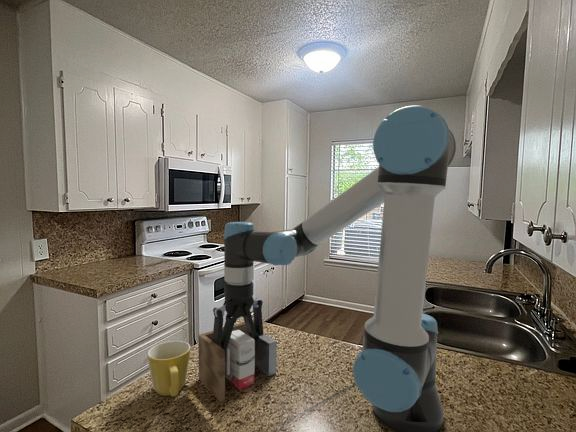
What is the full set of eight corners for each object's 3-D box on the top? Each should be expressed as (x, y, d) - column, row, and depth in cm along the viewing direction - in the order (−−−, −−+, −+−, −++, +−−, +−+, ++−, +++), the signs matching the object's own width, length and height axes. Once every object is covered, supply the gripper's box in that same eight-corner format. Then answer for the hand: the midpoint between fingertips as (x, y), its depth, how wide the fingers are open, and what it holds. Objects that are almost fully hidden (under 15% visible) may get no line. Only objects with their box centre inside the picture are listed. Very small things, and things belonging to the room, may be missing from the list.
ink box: (255, 383, 82) (255, 338, 81) (238, 390, 79) (238, 344, 78) (238, 369, 89) (239, 328, 88) (222, 375, 86) (222, 332, 85)
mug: (150, 381, 84) (150, 342, 84) (190, 375, 87) (190, 338, 87) (142, 414, 71) (142, 369, 71) (190, 406, 74) (190, 363, 74)
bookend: (276, 373, 87) (276, 341, 86) (268, 376, 85) (269, 343, 85) (259, 361, 93) (259, 331, 92) (252, 364, 91) (252, 333, 91)
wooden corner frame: (280, 379, 86) (281, 332, 85) (220, 406, 74) (220, 352, 74) (255, 361, 95) (255, 319, 94) (198, 383, 84) (198, 334, 83)
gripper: (261, 273, 92) (261, 351, 93) (196, 284, 79) (197, 374, 80) (277, 278, 86) (277, 361, 87) (210, 291, 73) (210, 388, 74)
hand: (238, 367), depth 84 cm, fingers open, 7 cm apart
